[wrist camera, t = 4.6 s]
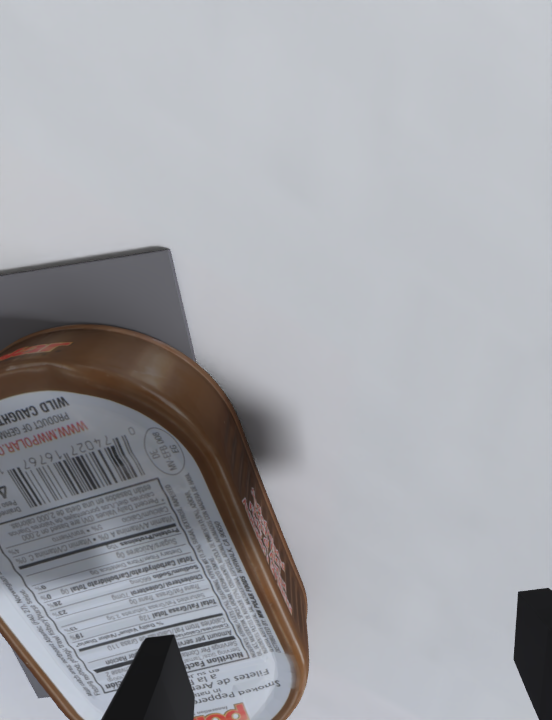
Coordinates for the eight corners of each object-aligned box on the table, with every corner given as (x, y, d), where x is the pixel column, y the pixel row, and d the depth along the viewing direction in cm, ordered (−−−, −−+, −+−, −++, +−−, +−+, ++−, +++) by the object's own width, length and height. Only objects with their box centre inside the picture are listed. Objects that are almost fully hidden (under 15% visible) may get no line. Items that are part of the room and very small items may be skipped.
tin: (184, 281, 12) (-84, 368, 13) (146, 319, 9) (-192, 425, 10) (336, 655, 17) (136, 689, 19) (344, 755, 14) (106, 786, 16)
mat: (266, 663, 18) (266, 670, 17) (42, 690, 18) (38, 698, 18) (170, 248, 12) (167, 250, 11) (-162, 300, 12) (-172, 303, 12)
